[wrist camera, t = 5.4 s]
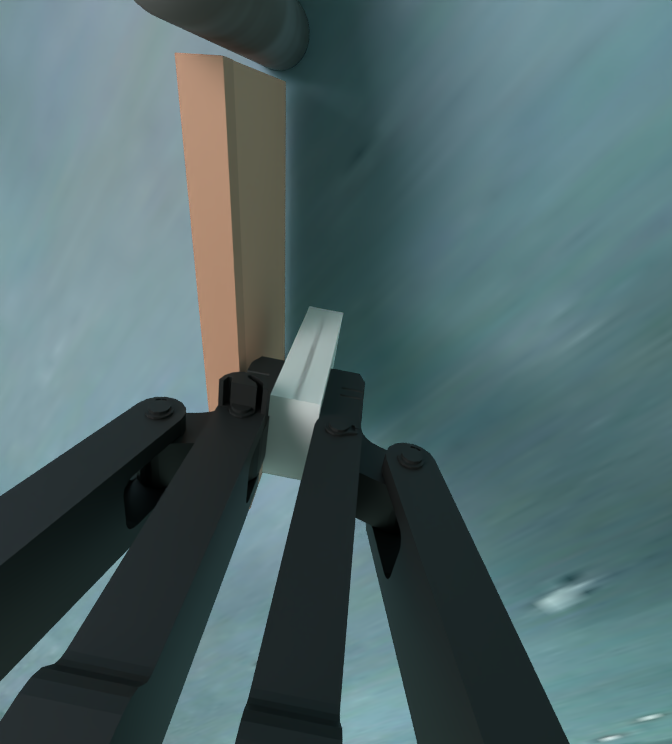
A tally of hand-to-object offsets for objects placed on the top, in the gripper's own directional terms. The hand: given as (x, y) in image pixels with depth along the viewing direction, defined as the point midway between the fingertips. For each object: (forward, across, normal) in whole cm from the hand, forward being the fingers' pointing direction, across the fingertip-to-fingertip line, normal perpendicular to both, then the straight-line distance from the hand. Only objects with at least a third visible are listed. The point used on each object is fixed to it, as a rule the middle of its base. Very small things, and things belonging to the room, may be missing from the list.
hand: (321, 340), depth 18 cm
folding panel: (+4, -3, +2) cm, 5 cm away
